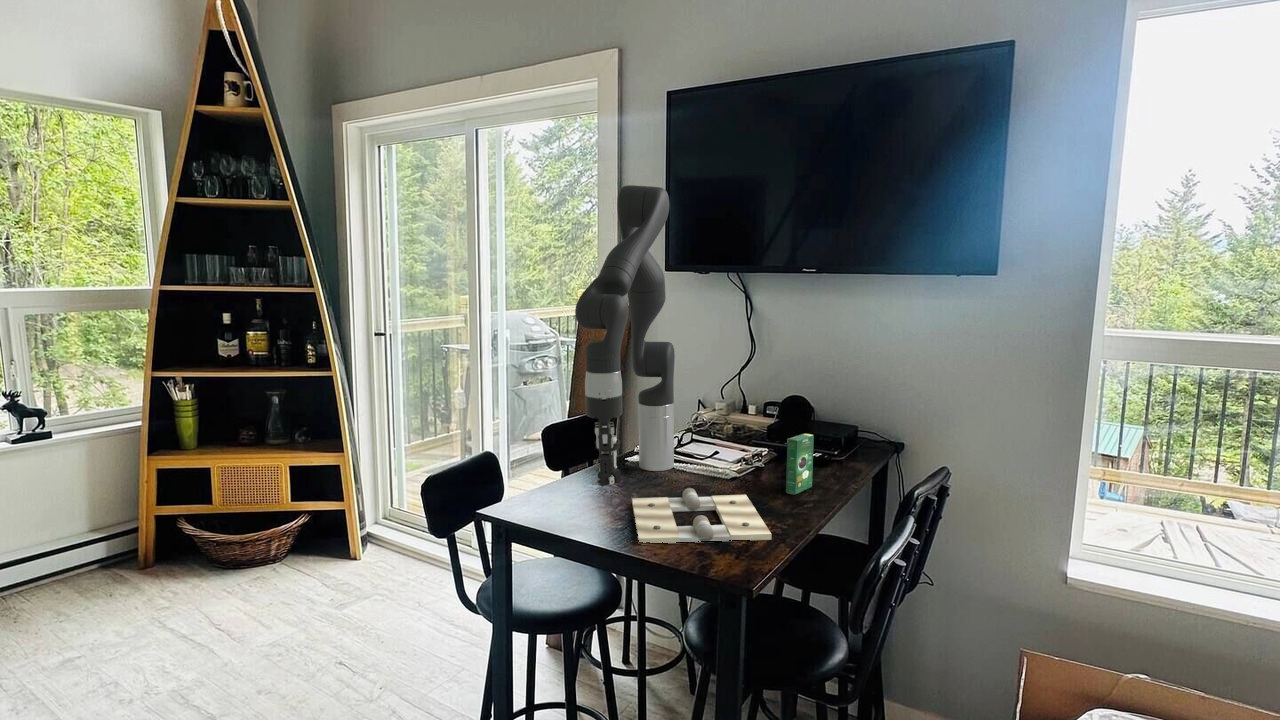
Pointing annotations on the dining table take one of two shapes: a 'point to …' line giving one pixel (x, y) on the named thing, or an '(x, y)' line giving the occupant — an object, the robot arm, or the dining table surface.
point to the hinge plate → (698, 519)
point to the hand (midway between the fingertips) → (605, 473)
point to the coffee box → (799, 463)
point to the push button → (614, 472)
